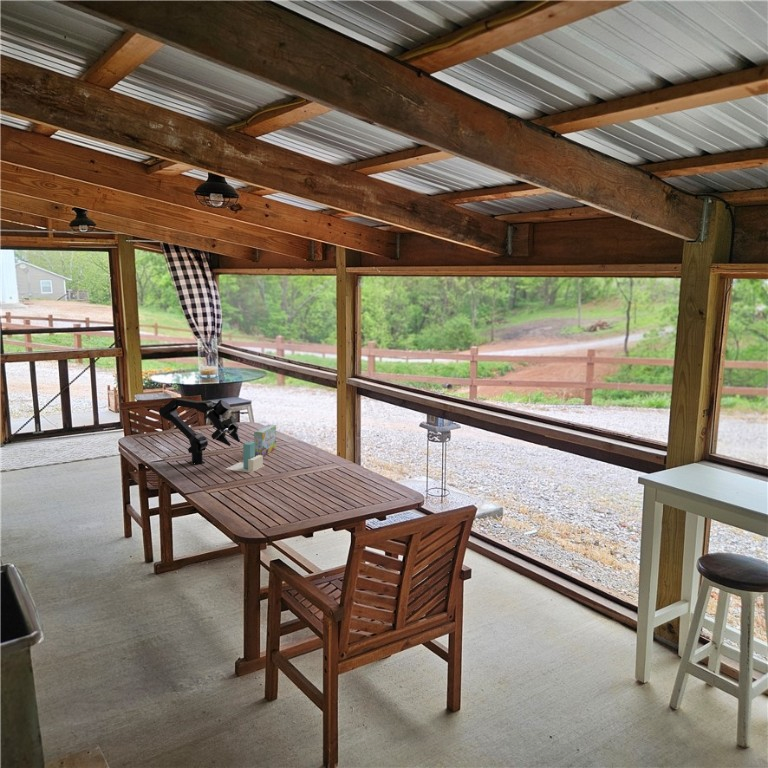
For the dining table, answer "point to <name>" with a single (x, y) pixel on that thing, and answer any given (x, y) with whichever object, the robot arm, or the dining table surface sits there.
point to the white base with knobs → (249, 464)
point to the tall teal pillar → (248, 453)
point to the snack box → (265, 440)
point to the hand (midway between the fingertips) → (235, 443)
